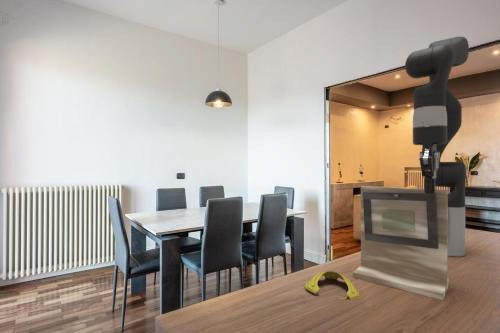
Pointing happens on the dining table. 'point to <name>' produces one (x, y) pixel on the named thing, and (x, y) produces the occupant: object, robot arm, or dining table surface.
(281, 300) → the dining table surface
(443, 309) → the dining table surface
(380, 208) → the picture frame
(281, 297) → the dining table surface
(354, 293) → the yellow horseshoe piece
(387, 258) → the wall board stand
